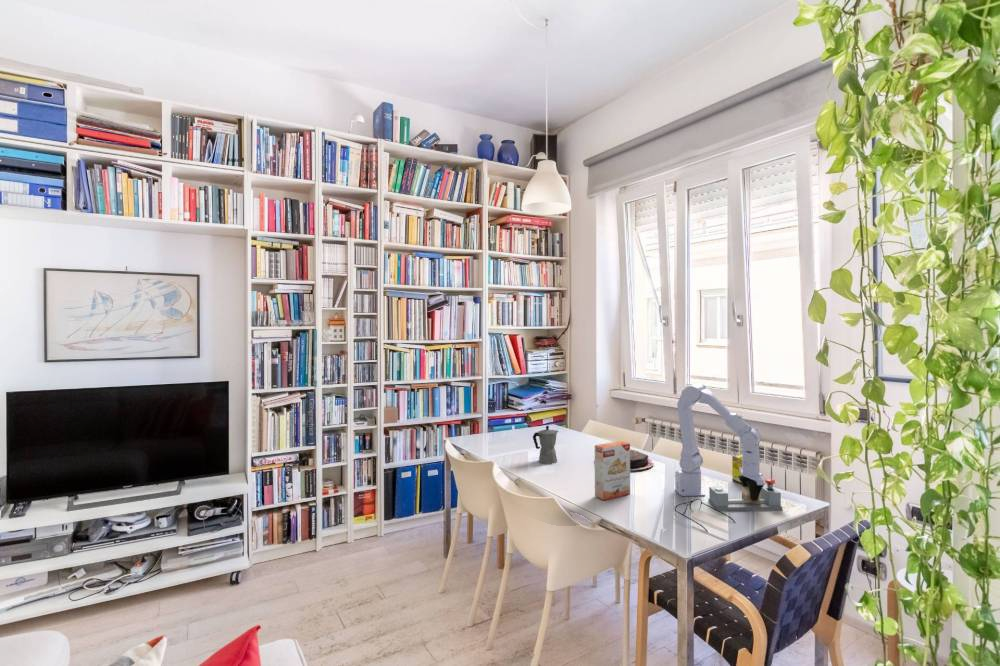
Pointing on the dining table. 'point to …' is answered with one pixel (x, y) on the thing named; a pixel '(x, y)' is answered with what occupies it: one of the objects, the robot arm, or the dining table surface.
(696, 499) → the glasses
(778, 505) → the rail bench
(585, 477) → the dining table surface
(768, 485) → the gauge plunger
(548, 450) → the coffeepot
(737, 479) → the supplement box
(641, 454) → the chocolate cake
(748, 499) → the carriage
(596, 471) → the cracker box
